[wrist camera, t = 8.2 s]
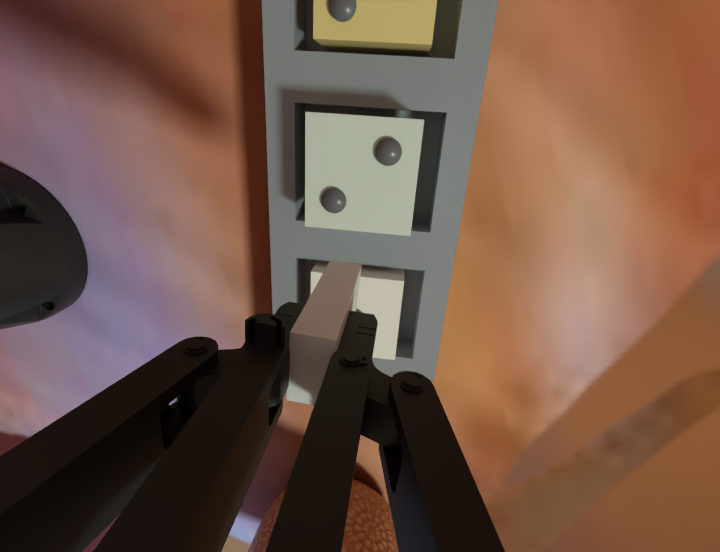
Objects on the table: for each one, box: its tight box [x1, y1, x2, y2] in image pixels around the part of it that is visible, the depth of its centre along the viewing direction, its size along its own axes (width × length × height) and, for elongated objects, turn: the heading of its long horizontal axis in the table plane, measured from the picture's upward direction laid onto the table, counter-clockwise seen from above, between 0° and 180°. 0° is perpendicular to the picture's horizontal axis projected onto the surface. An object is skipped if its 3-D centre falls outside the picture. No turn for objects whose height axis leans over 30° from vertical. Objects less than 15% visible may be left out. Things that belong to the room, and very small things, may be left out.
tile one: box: [311, 260, 404, 360], centre depth 31 cm, size 7×7×4 cm
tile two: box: [305, 112, 424, 236], centre depth 25 cm, size 7×7×4 cm
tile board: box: [262, 0, 498, 381], centre depth 28 cm, size 14×34×4 cm, turn 177°
